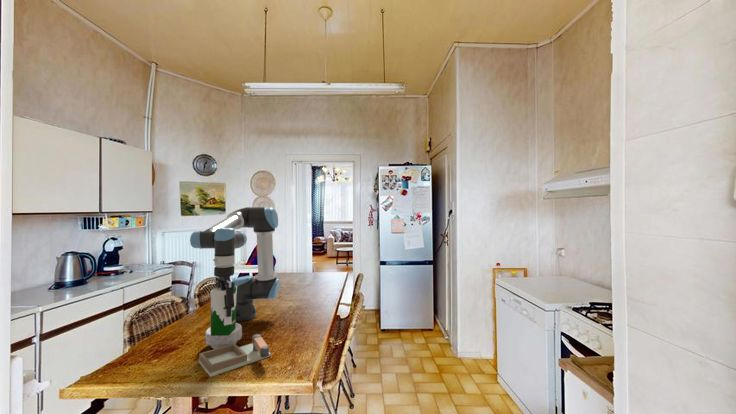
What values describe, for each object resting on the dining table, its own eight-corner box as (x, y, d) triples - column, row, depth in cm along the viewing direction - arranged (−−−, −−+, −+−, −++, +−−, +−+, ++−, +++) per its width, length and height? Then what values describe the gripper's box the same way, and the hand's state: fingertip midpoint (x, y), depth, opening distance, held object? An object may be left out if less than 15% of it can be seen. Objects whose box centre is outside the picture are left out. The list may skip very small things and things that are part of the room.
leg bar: (251, 342, 134) (251, 335, 134) (259, 340, 136) (259, 333, 136) (261, 358, 120) (261, 350, 120) (270, 356, 122) (270, 348, 122)
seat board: (198, 362, 125) (198, 352, 125) (255, 344, 141) (256, 336, 141) (210, 376, 114) (210, 366, 114) (270, 356, 131) (270, 347, 131)
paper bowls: (205, 355, 130) (205, 337, 130) (205, 342, 144) (205, 325, 144) (243, 348, 137) (243, 331, 137) (240, 336, 151) (240, 320, 151)
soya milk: (230, 336, 120) (231, 285, 121) (206, 336, 120) (207, 286, 120) (238, 328, 129) (239, 280, 130) (216, 328, 129) (217, 280, 129)
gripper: (206, 263, 130) (205, 316, 129) (223, 270, 114) (223, 331, 114) (224, 261, 135) (224, 312, 135) (244, 268, 120) (243, 326, 119)
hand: (223, 321), depth 124 cm, fingers closed on soya milk, 9 cm apart
